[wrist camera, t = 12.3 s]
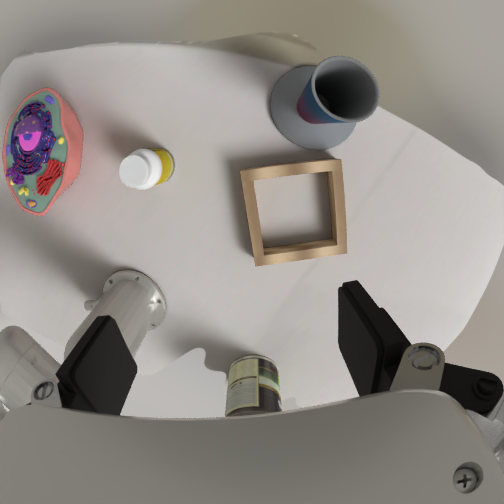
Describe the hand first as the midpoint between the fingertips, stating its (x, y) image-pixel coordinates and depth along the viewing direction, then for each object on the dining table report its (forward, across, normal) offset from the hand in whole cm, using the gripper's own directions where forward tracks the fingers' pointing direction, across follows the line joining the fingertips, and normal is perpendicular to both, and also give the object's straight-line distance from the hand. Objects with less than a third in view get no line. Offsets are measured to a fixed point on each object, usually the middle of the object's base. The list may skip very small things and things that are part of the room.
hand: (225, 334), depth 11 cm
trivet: (+31, -13, -12) cm, 36 cm away
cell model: (+33, +29, -16) cm, 46 cm away
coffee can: (+33, +3, +35) cm, 48 cm away
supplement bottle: (+32, +11, -8) cm, 35 cm away
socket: (+32, -8, +3) cm, 33 cm away
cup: (+31, -13, -12) cm, 35 cm away
